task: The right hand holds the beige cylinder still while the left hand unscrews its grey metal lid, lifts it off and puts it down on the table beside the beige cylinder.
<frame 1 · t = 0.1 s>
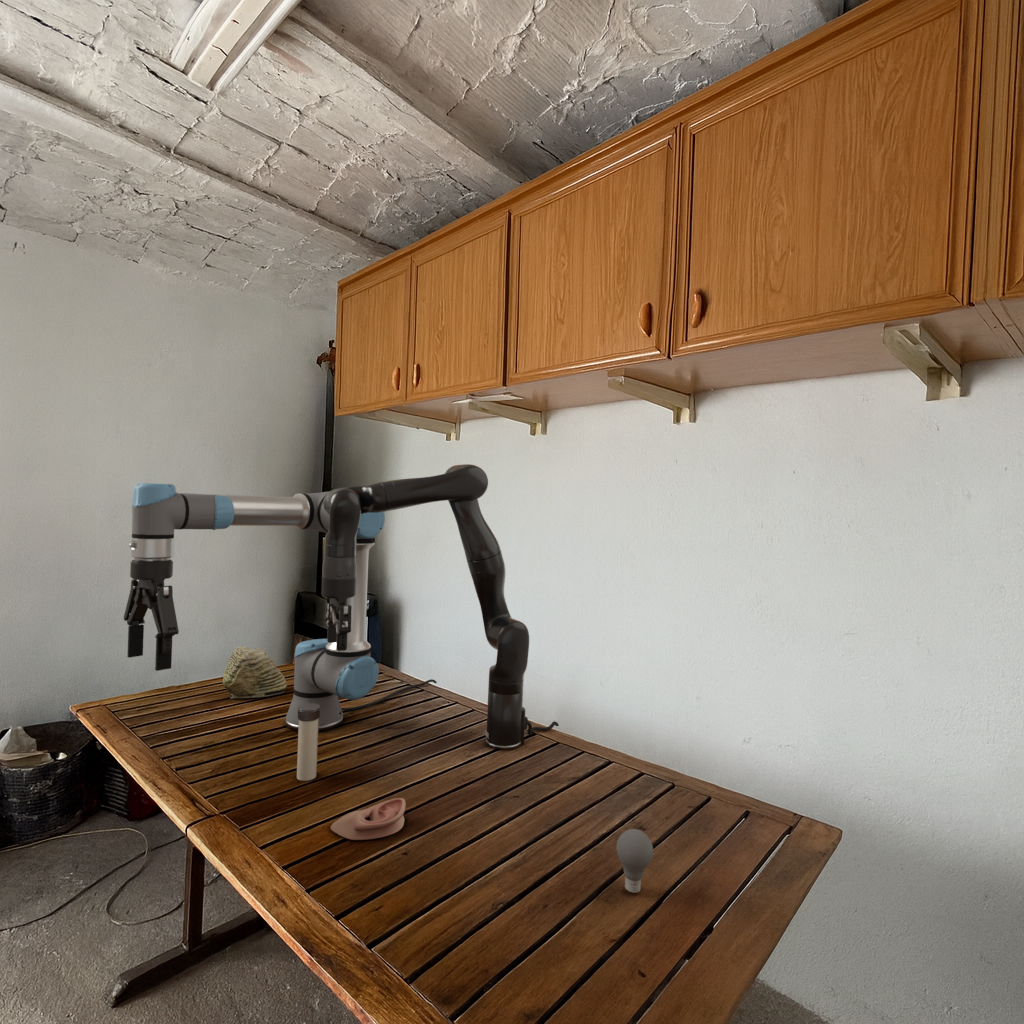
left hand: (148, 662, 129), 28 cm above the table, tool pointing down, fingers open, 13 cm apart
right hand: (336, 646, 145), 29 cm above the table, tool pointing down, fingers open, 8 cm apart
beige cylinder: (306, 776, 143), on the table
fossil: (254, 694, 198), on the table
lid: (309, 708, 143), point 16 cm above the table, screwed on, not yet turned
light bulb: (632, 891, 106), on the table
anatomical model: (368, 826, 123), on the table
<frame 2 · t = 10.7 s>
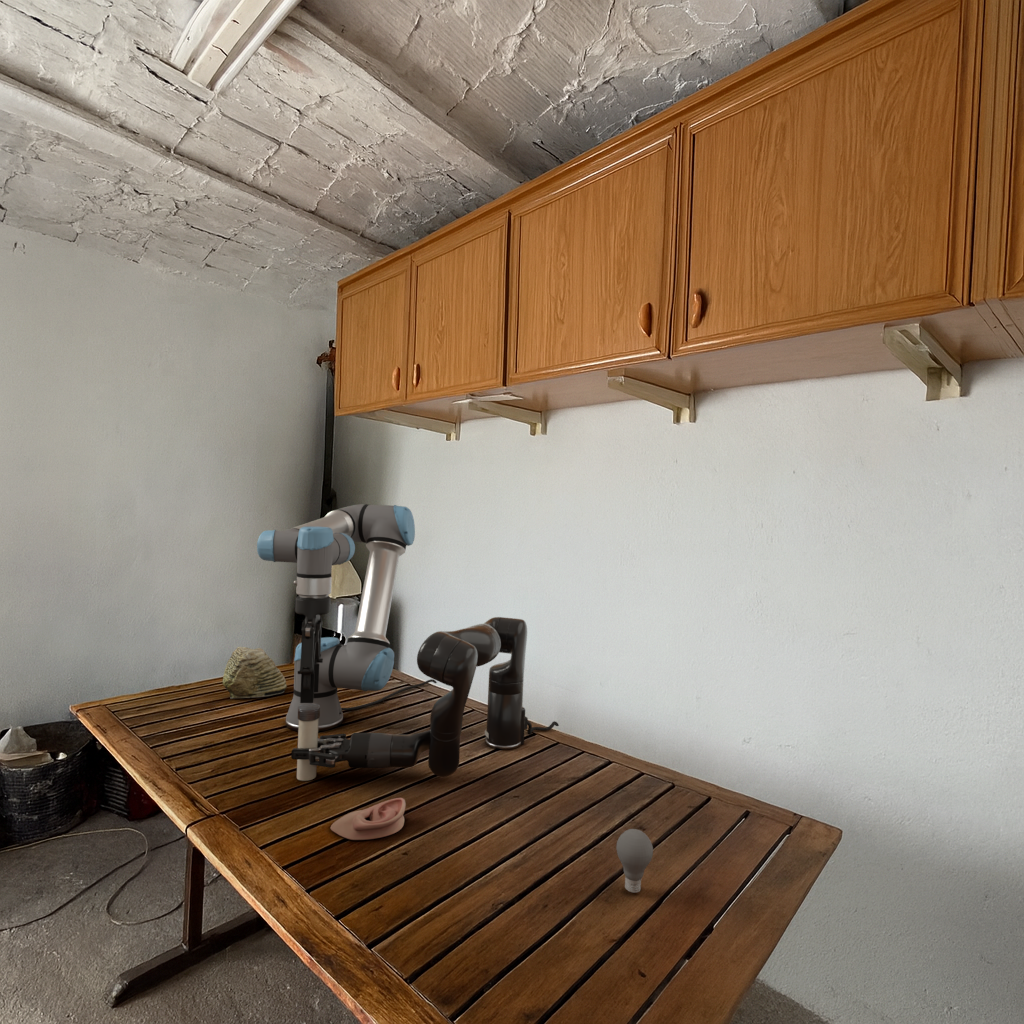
left hand: (309, 696, 143), 18 cm above the table, tool pointing down, fingers open, 7 cm apart
right hand: (295, 749, 143), 6 cm above the table, tool horizontal, fingers closed on beige cylinder, 4 cm apart
beige cylinder: (306, 776, 143), on the table, touching right hand
everything else where it was.
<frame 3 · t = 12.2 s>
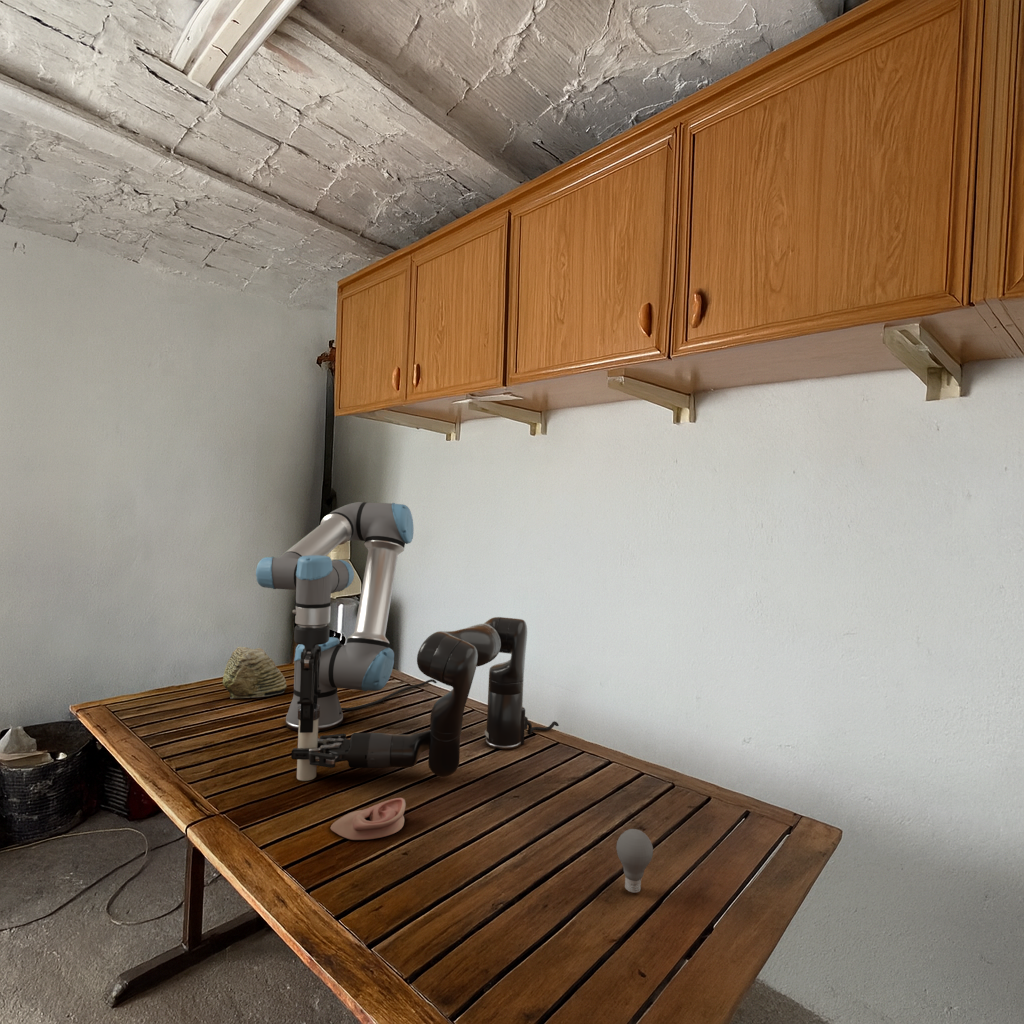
left hand: (308, 727, 143), 11 cm above the table, tool pointing down, fingers closed on lid, 5 cm apart
right hand: (295, 749, 143), 6 cm above the table, tool horizontal, fingers closed on beige cylinder, 4 cm apart
beige cylinder: (306, 776, 143), on the table, touching right hand
lid: (309, 708, 143), point 16 cm above the table, screwed on, not yet turned, touching left hand
everything else where it was.
when the left hand's fingers open (11 cm above the table, at t = 13.5 s): lid stays where it is, point 16 cm above the table.
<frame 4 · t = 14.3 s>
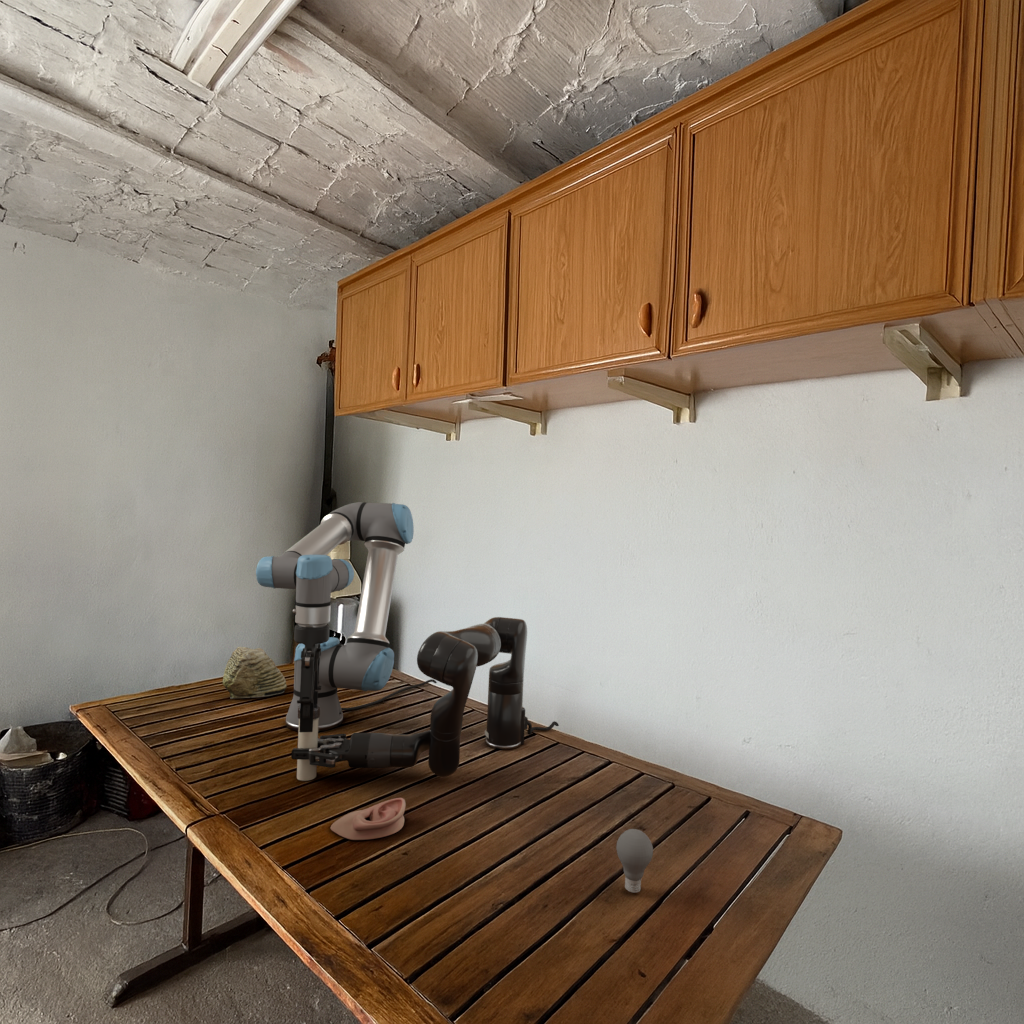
left hand: (308, 725, 143), 12 cm above the table, tool pointing down, fingers open, 7 cm apart
right hand: (295, 749, 143), 6 cm above the table, tool horizontal, fingers closed on beige cylinder, 4 cm apart
beige cylinder: (306, 776, 143), on the table, touching right hand
lid: (309, 707, 143), point 16 cm above the table, turned 77° so far, risen 0.2 cm, still on its thread
everything else where it was.
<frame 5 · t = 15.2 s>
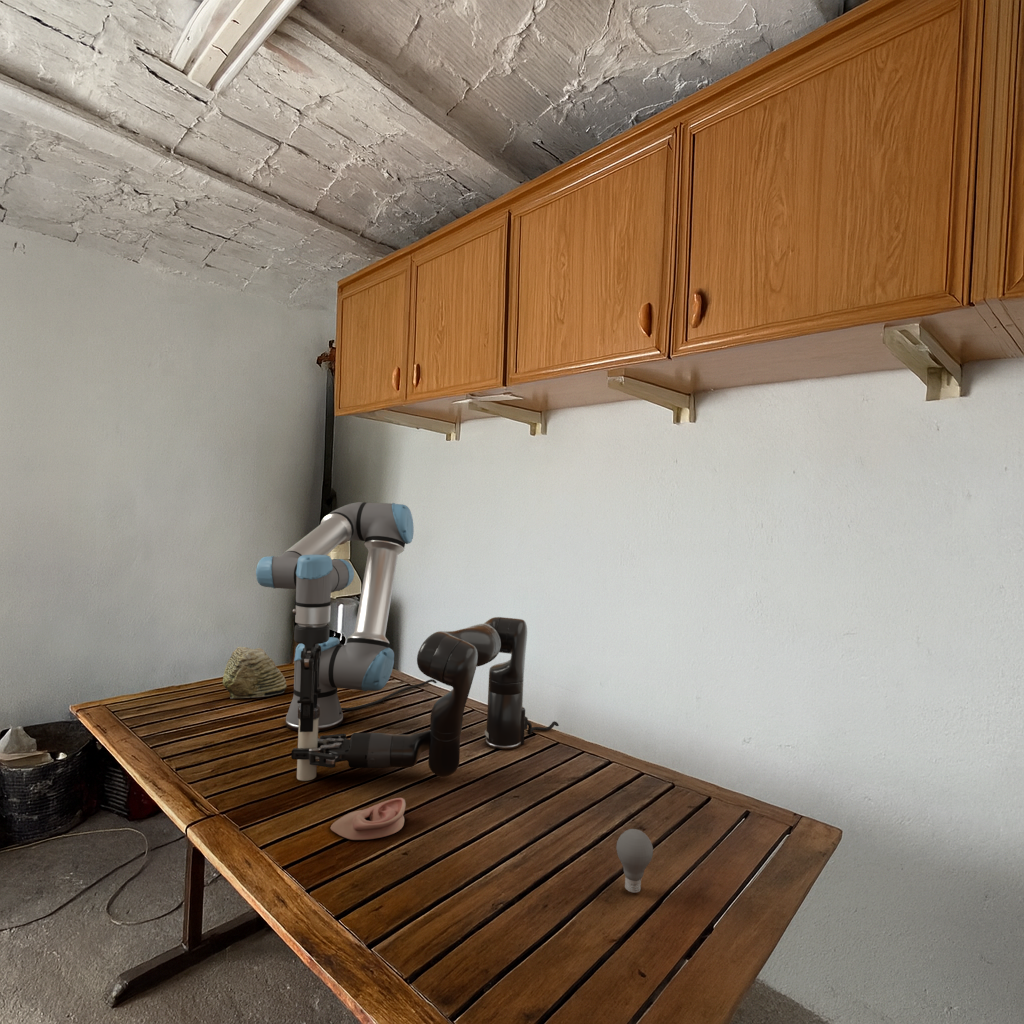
left hand: (308, 726, 143), 11 cm above the table, tool pointing down, fingers closed on lid, 5 cm apart
right hand: (295, 749, 143), 6 cm above the table, tool horizontal, fingers closed on beige cylinder, 4 cm apart
beige cylinder: (306, 776, 143), on the table, touching right hand
lid: (309, 707, 143), point 16 cm above the table, turned 77° so far, risen 0.2 cm, still on its thread, touching left hand
everything else where it was.
when the left hand's fingers open (0 cm above the table, at t = 21.9 s): lid drops 2 cm, point 2 cm above the table.
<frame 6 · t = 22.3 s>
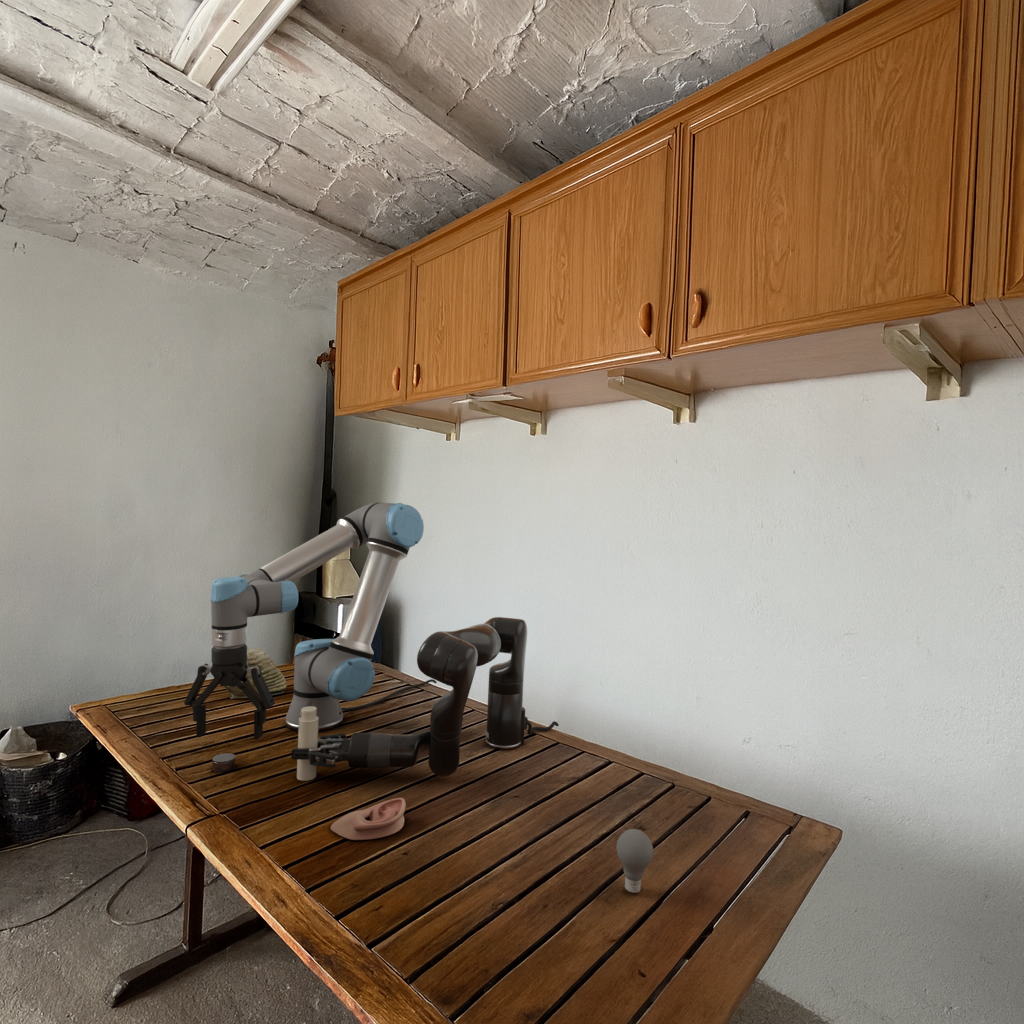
left hand: (229, 736, 146), 7 cm above the table, tool pointing down, fingers open, 13 cm apart
right hand: (295, 749, 143), 6 cm above the table, tool horizontal, fingers closed on beige cylinder, 4 cm apart
beige cylinder: (306, 776, 143), on the table, touching right hand
lid: (223, 758, 146), point 2 cm above the table, off its thread
everything else where it was.
when the right hand's fingers open (6 cm above the table, at t = 22.5 s): beige cylinder stays where it is, on the table.
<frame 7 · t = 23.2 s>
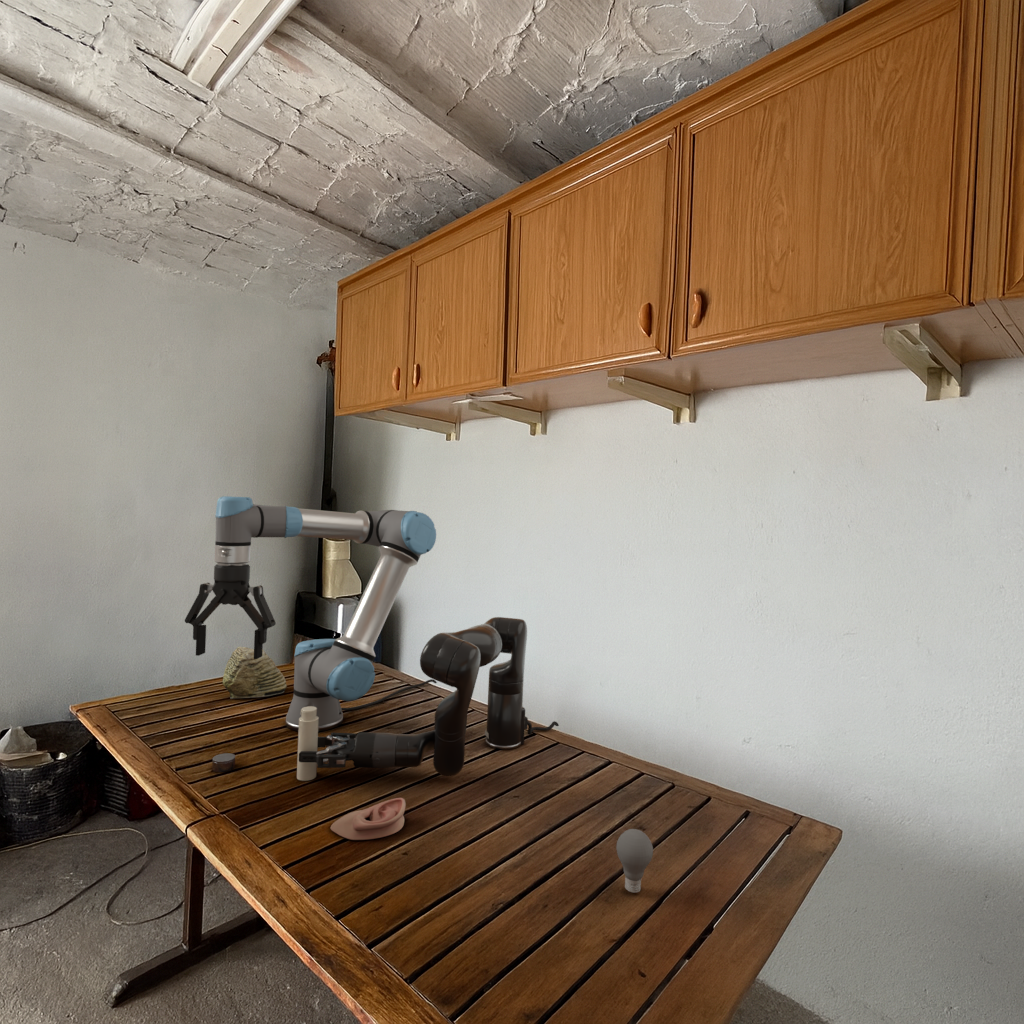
left hand: (229, 656, 145), 26 cm above the table, tool pointing down, fingers open, 13 cm apart
right hand: (304, 749, 143), 6 cm above the table, tool horizontal, fingers open, 8 cm apart
beige cylinder: (306, 776, 143), on the table
everything else where it was.
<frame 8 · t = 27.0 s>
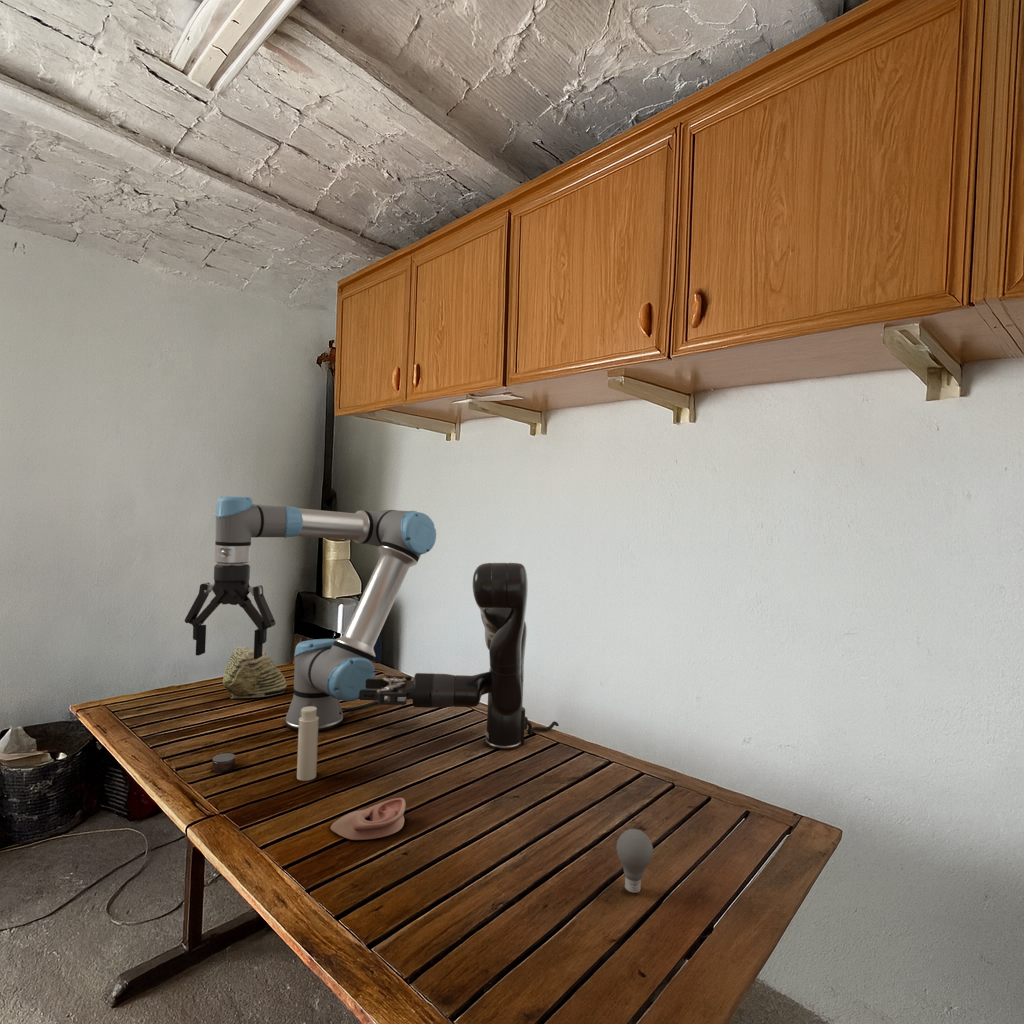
left hand: (229, 655, 145), 26 cm above the table, tool pointing down, fingers open, 13 cm apart
right hand: (362, 688, 143), 20 cm above the table, tool horizontal, fingers open, 8 cm apart
nothing on the table moved.
at the end: lid came off its thread; lid point 2.1 cm above the table; the left hand is holding nothing; the right hand is holding nothing; beige cylinder tilted 0°; beige cylinder moved 0.0 cm from its start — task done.
